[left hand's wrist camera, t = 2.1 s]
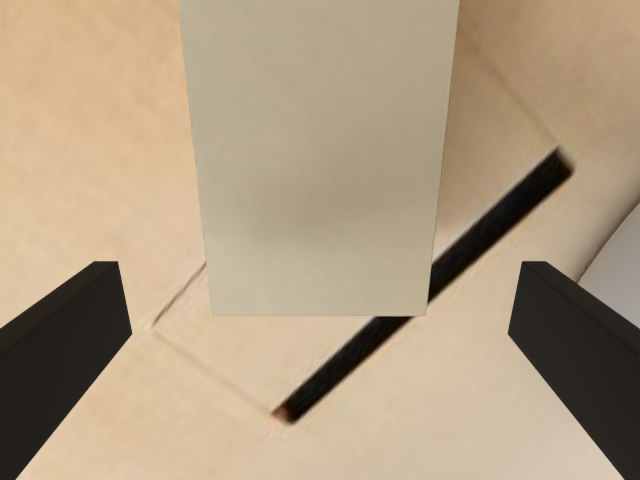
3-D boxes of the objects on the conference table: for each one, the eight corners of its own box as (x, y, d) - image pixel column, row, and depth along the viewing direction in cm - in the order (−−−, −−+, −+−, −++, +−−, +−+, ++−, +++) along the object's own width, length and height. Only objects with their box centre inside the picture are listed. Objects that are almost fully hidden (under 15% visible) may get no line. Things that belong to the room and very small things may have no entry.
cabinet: (231, -33, 23) (161, -140, 13) (406, -33, 23) (475, -140, 13) (249, 241, 29) (211, 316, 19) (388, 241, 29) (426, 316, 19)
